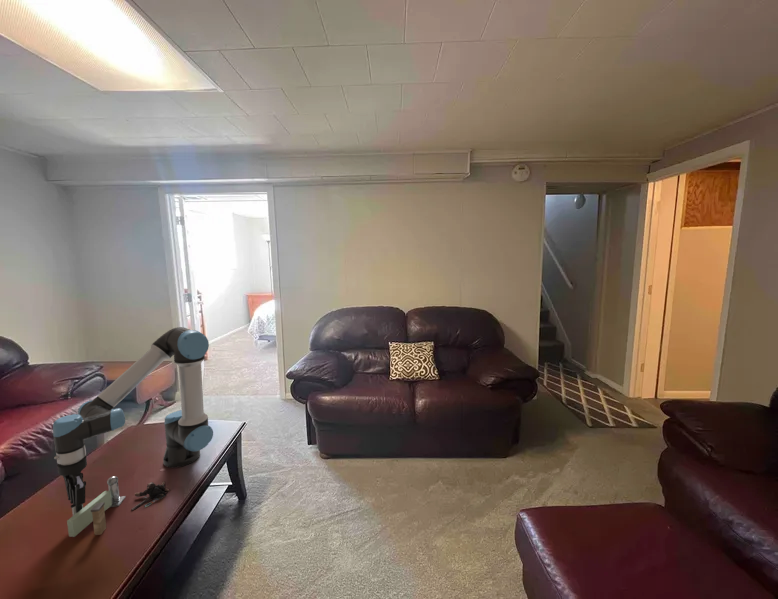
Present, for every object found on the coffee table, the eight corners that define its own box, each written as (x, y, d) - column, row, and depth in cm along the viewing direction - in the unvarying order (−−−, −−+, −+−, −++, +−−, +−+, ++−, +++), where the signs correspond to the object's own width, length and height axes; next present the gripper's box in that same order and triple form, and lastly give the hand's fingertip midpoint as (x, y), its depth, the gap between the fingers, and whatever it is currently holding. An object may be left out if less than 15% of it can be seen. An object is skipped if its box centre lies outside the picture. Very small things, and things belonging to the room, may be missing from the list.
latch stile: (107, 527, 123) (104, 502, 122) (101, 534, 120) (98, 509, 118) (99, 528, 122) (96, 503, 121) (93, 535, 119) (90, 510, 118)
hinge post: (125, 497, 138) (123, 472, 136) (118, 506, 133) (116, 480, 131) (111, 499, 137) (108, 473, 135) (104, 508, 132) (101, 481, 130)
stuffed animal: (174, 480, 147) (164, 480, 137) (170, 506, 143) (160, 508, 132) (143, 483, 144) (130, 484, 134) (138, 510, 140) (124, 513, 130)
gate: (106, 504, 132) (105, 490, 131) (111, 505, 132) (110, 490, 131) (68, 536, 117) (66, 520, 117) (74, 536, 117) (72, 520, 117)
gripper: (50, 459, 120) (58, 519, 124) (65, 471, 114) (72, 534, 117) (77, 448, 127) (84, 506, 130) (93, 459, 120) (99, 519, 124)
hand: (79, 519), depth 124 cm, fingers closed
